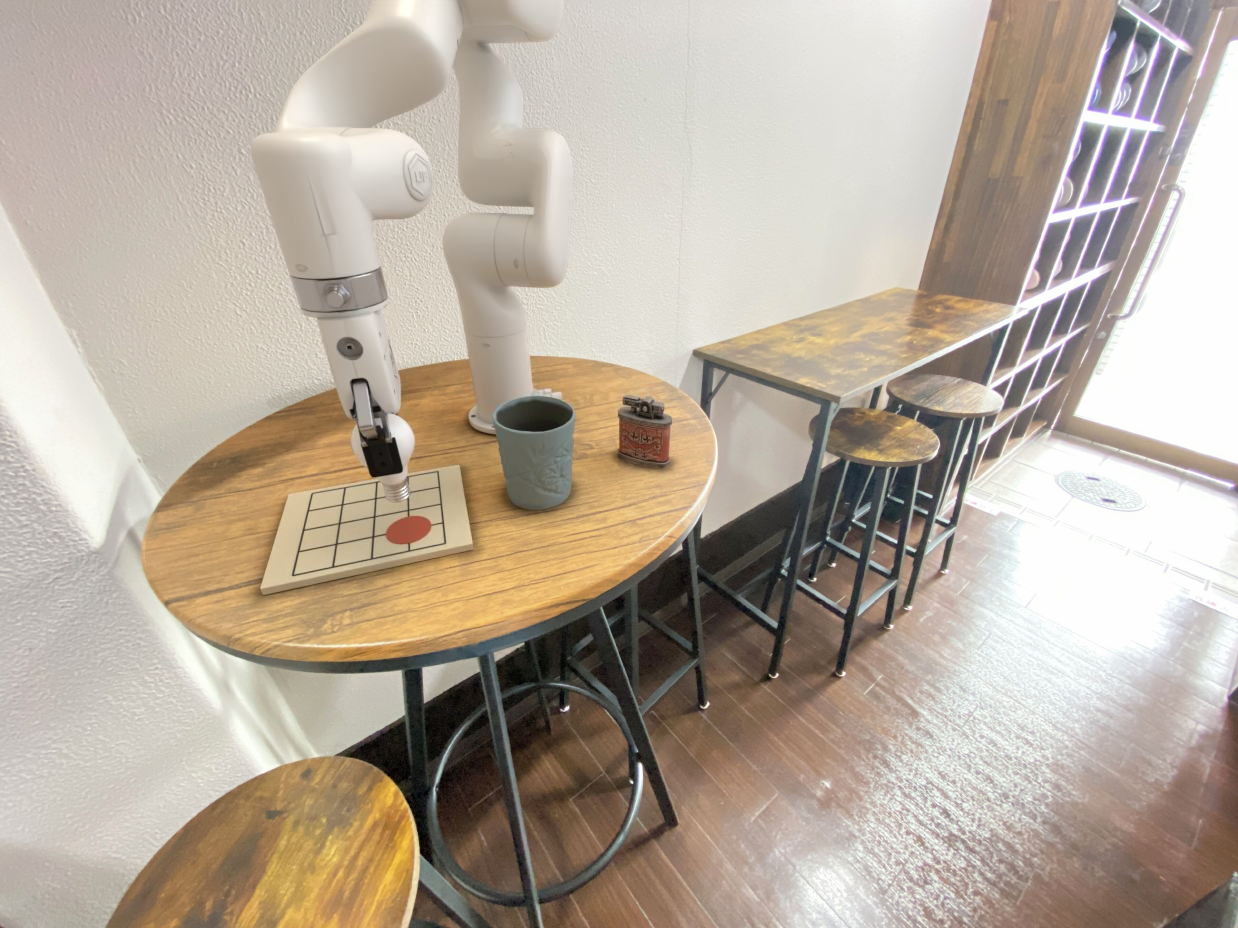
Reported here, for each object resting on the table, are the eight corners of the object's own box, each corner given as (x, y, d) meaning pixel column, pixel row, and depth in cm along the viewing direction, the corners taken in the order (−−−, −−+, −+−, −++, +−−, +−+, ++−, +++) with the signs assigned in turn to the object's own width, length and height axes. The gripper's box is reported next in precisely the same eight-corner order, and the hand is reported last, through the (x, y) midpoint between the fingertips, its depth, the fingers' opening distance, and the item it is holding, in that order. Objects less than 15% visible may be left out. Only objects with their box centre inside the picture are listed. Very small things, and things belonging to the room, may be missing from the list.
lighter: (672, 459, 79) (676, 398, 74) (664, 471, 76) (668, 409, 71) (623, 448, 82) (623, 388, 77) (614, 458, 79) (613, 397, 74)
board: (460, 469, 77) (459, 463, 76) (473, 549, 63) (472, 542, 62) (290, 499, 71) (288, 493, 70) (263, 595, 57) (259, 588, 56)
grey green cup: (496, 479, 75) (484, 402, 68) (565, 464, 78) (560, 389, 72) (514, 522, 67) (502, 439, 60) (589, 502, 70) (586, 422, 64)
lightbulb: (395, 524, 58) (369, 436, 52) (358, 505, 61) (329, 420, 55) (440, 494, 62) (421, 410, 57) (403, 478, 65) (382, 397, 59)
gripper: (383, 313, 43) (426, 494, 53) (387, 267, 57) (421, 417, 66) (279, 323, 41) (344, 509, 51) (310, 272, 55) (356, 426, 64)
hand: (387, 455), depth 58 cm, fingers closed on lightbulb, 6 cm apart
